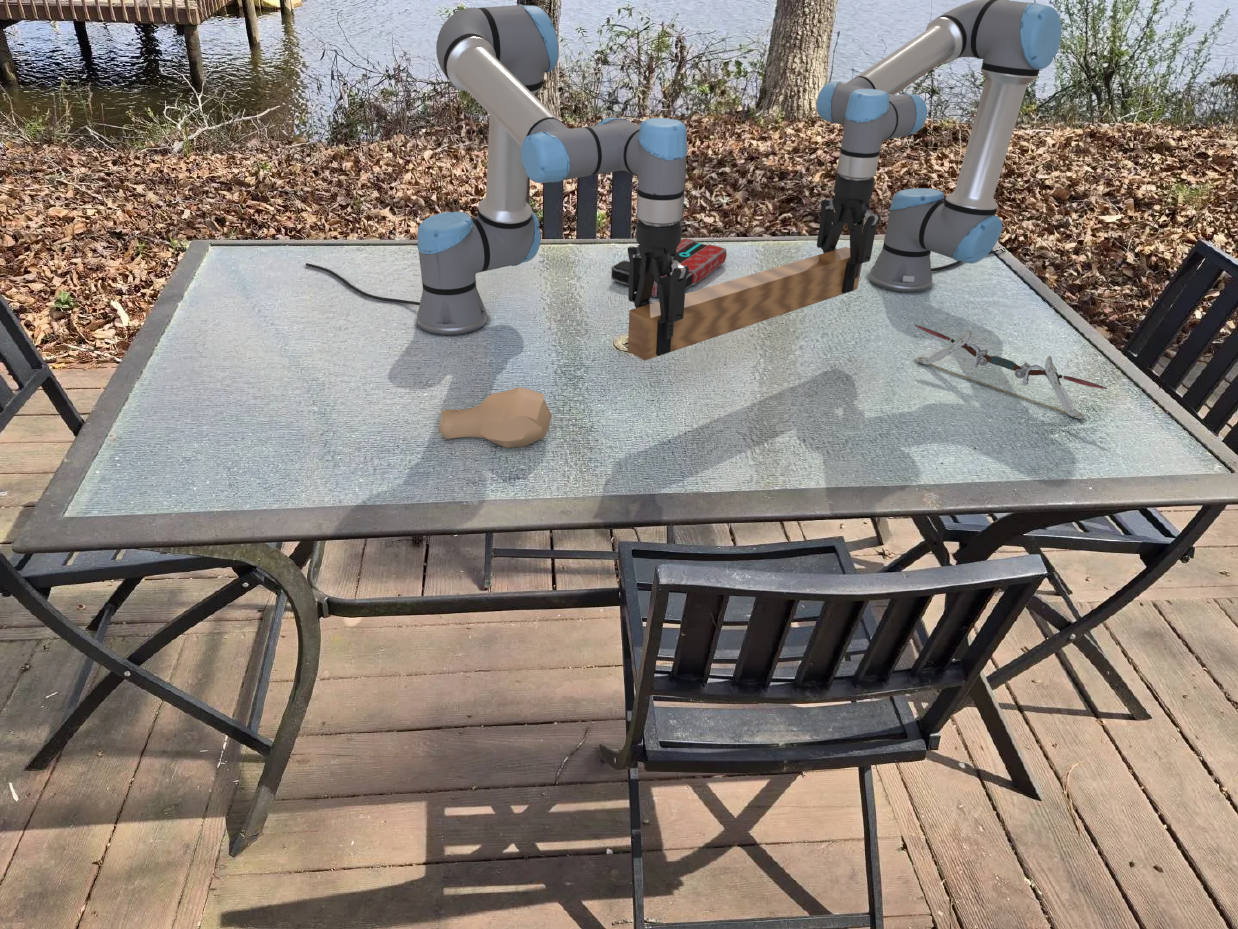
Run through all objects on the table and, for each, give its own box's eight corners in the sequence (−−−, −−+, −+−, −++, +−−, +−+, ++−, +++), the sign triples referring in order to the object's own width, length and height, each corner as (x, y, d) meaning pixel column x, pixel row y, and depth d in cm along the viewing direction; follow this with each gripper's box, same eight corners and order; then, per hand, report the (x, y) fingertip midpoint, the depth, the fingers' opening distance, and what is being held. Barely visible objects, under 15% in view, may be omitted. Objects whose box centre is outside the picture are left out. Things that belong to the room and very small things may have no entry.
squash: (553, 454, 153) (544, 415, 147) (441, 463, 154) (428, 425, 148) (556, 414, 161) (548, 375, 154) (450, 422, 162) (438, 384, 156)
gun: (605, 267, 214) (675, 286, 206) (666, 230, 236) (731, 246, 228) (605, 285, 217) (674, 304, 209) (664, 246, 239) (729, 263, 231)
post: (644, 360, 154) (646, 319, 150) (627, 351, 157) (629, 310, 153) (857, 289, 186) (864, 253, 181) (839, 282, 189) (846, 246, 184)
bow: (1096, 421, 167) (1113, 374, 161) (1092, 425, 165) (1110, 378, 160) (909, 355, 188) (919, 312, 182) (905, 358, 187) (915, 315, 181)
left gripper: (713, 230, 141) (702, 360, 154) (642, 202, 152) (638, 325, 165) (677, 239, 137) (669, 372, 150) (608, 209, 148) (606, 335, 161)
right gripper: (905, 183, 168) (882, 297, 181) (833, 162, 179) (817, 270, 192) (880, 189, 164) (858, 305, 177) (808, 167, 176) (793, 277, 189)
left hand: (653, 347), depth 157 cm, fingers closed on post, 5 cm apart
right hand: (837, 287), depth 185 cm, fingers closed on post, 5 cm apart
